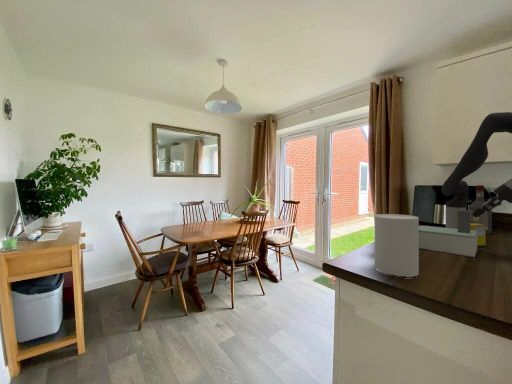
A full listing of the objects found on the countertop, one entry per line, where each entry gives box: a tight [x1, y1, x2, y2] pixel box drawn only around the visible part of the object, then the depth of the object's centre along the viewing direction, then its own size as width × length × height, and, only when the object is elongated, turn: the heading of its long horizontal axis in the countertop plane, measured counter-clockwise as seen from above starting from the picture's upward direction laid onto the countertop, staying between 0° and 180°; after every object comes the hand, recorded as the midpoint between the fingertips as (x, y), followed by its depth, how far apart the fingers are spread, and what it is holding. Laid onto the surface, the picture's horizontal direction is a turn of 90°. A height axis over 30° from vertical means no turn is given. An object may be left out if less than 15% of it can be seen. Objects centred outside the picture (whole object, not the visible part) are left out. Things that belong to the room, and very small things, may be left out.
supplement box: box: [470, 223, 487, 248], centre depth 113 cm, size 6×6×11 cm
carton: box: [419, 232, 478, 258], centre depth 108 cm, size 22×16×8 cm
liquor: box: [468, 184, 493, 235], centre depth 140 cm, size 9×9×30 cm
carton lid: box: [419, 209, 477, 238], centre depth 108 cm, size 22×16×11 cm
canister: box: [374, 213, 420, 277], centre depth 81 cm, size 14×14×20 cm
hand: (474, 214), depth 100 cm, fingers open, 8 cm apart
